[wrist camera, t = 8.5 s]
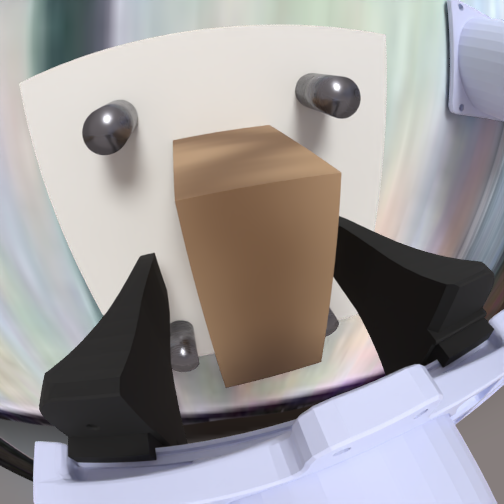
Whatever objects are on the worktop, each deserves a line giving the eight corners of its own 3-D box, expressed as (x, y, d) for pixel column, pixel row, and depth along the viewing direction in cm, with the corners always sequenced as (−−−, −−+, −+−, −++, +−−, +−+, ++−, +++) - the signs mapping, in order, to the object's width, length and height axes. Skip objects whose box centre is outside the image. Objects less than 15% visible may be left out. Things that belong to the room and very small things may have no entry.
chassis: (371, 34, 11) (421, 35, 8) (350, 303, 22) (374, 339, 19) (30, 81, 9) (-12, 89, 6) (135, 354, 19) (136, 399, 16)
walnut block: (269, 124, 12) (341, 172, 7) (277, 274, 16) (321, 361, 12) (172, 140, 11) (174, 200, 6) (204, 290, 16) (225, 387, 11)
